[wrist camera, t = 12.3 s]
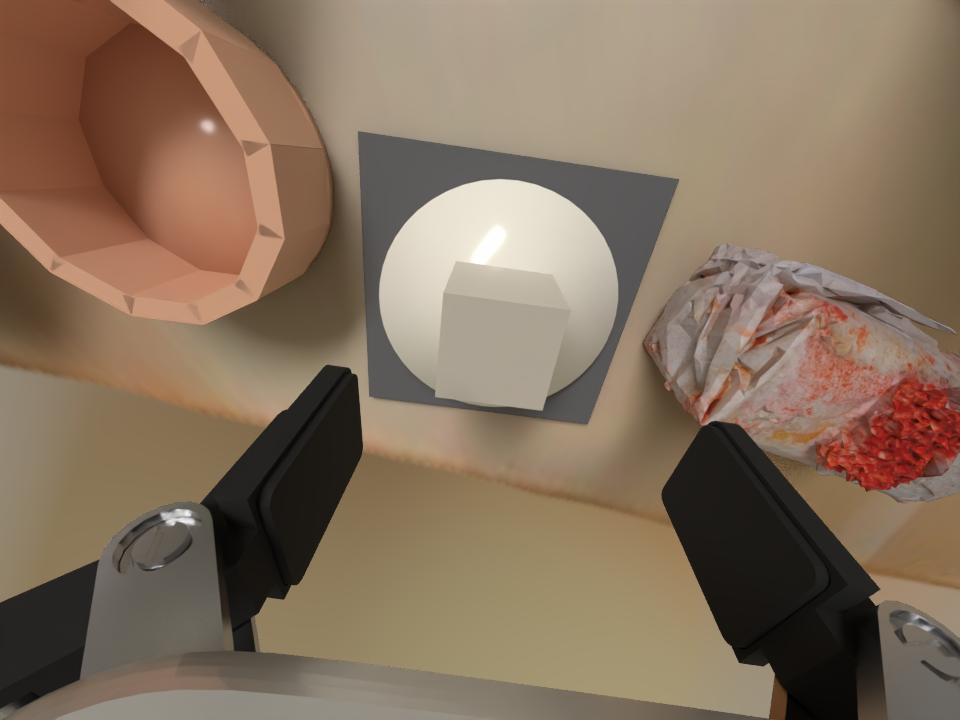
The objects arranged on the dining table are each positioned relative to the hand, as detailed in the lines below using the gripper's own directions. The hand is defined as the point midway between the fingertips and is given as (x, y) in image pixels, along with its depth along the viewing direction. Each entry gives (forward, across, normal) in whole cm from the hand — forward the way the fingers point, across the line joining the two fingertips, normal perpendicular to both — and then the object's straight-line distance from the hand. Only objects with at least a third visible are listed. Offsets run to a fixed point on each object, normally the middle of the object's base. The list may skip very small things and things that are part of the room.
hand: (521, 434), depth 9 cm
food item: (+12, -14, +1) cm, 19 cm away
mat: (+12, +1, +1) cm, 12 cm away
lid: (+11, +1, +1) cm, 11 cm away
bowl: (+11, +16, -4) cm, 20 cm away
